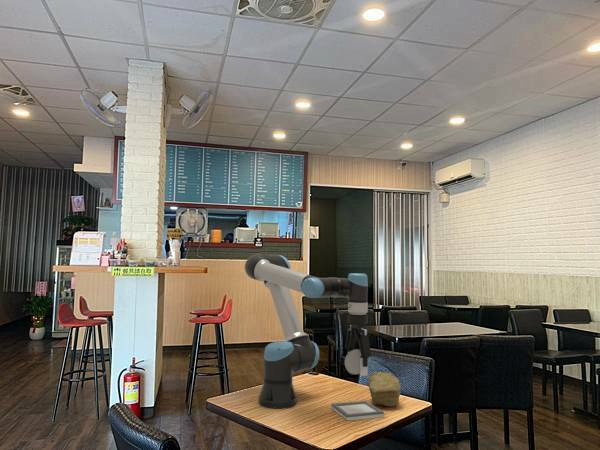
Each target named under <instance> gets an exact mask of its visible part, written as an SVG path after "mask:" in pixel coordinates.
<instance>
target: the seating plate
mask: <svg viewBox="0 0 600 450" xmlns="http://www.w3.org/2000/svg"><path fill="white" fill-rule="evenodd" d="M330 409H332V410H333V411H334V412H335V413H337V414H338V415H339V416H341V418H342V419H344V420H346V421H347V422H348V421H358V420H367V419H368V420H369V419H378V418H379V419H381V418H385V412H384V411H383V410H382V409H380V408H378V407H377V406H375V405H374V404H372V403H371V402H369V401H367V400H357V401H348V402H347V401H346V402H343V401H342V402H332V403H331V405H330Z"/></svg>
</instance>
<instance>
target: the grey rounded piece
mask: <svg viewBox="0 0 600 450" xmlns="http://www.w3.org/2000/svg"><path fill="white" fill-rule="evenodd" d="M360 356H361V352H360V348H359V349H358V348H354V350H351V351H350V352H349V353H348V352H347V353H346V356H345V358H344V366H345V369H346V371H347V373H349V374H350V375H355V376H356V375H360ZM369 364H370V361H369V360H368V365H369Z"/></svg>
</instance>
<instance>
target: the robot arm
mask: <svg viewBox="0 0 600 450" xmlns="http://www.w3.org/2000/svg"><path fill="white" fill-rule="evenodd" d="M244 271H245V273H246V275H247V276H248V277H249V278H250V279H252V280H255V281H259V282H263V283H264V284H263V285H264V287H265V288H267V289H269V291H270V295H271V298H272V301H273V304H274V307H275V311H276V314H277V317H278V320H279V321H278V322H279V324H280V327H281V330H282V333H283V337H284V340H282V341H281V340H280V341H274V342H271V343H269V344H267V345H265V348H264V353H263V384H262V387H261V390H260V392H259V396H258V404H259V405H260V406H262V407H264V408H270V409H286V408H287V409H288V408H291V407H294V406H296V404H297V394H296V392H295V389H294V388H295V387H294V385H293V378H294V377H293V374H295V373H299V372H303V371H305V372H306V371H308V370H311V369H313V368H315V367H316V365H317V364H318V362H319V360H320V349H319V347H318V344H317V343H316V342H314V341H313V340H311V339H310V337H309V334H308V333H305V332H304V329H303V326H302V323H301V319H300V317H299V315H298V311H297V308H296V306H295V302H294V299H293V296H292V293H291V290H293V291H296V292H299V293H302V294H303V295H304V296H305V297H306V298H309V299H317V298H335V297H339V298H340V297H343V298H347V302H348V305H347V307H348V308H347V312H348V314H347V323H348V324H349V325H347V326H346V327H347V331H346V337H345V338H346V340H345V343H344V344H345V345H344V349H345V350H346V351H347V354H348V353H349V352H350V351H351V350H354V349H356V348H355V347H356V344H357V343H358V347H359V349H360V352H361V356H360V374H359V376H360V377H362V376H363V377H365V376H368V373H369V371H368V370H369V369H368V367H369V364H368V361H369V358H370V357H372V353H371V352H372V351H371V346H370V345H371V344H370V343H371V342H370V337H369V335H370V334H369V333H370V332H369V329H365V325H367V324H368V322H369V321H368V316H369V315H368V314H367V313H368V309H369V306H368V305H369V304H368V303H369V301H368V292H369V291H368V290H369V289H368V288H369V287H368V286H369V282H368V281H369V280H368V275H367V274H366V273H348V277H347V278H345V277H332V276H331V277H318V276H313V275H310V274H307V273H304V272H300V271H298V270H295V269H292V268H291V264H290V261H289V260H288V258H286V257H285V256H283V255H280V254H276V253H275V254H273V253H272V254H267V253H266V254H264V253H255V254H252V255H251V256H249V257H248V258H247V259H246V262H245V264H244Z"/></svg>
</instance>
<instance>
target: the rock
mask: <svg viewBox="0 0 600 450" xmlns="http://www.w3.org/2000/svg"><path fill="white" fill-rule="evenodd" d="M400 384H401V381H400V380H399V377H396V376H395V375H394V374H392V373H390V372H383V371H382V372H380V371H373V372H372V373H371V374H369V377H368V391H370V397H371V400H372V402H373V403H374V404H375V405H376V406H385V407H392V408H394V407H396V406H397V405H398V403H399V400H400V396H401V391H402V389H401V385H400Z"/></svg>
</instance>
